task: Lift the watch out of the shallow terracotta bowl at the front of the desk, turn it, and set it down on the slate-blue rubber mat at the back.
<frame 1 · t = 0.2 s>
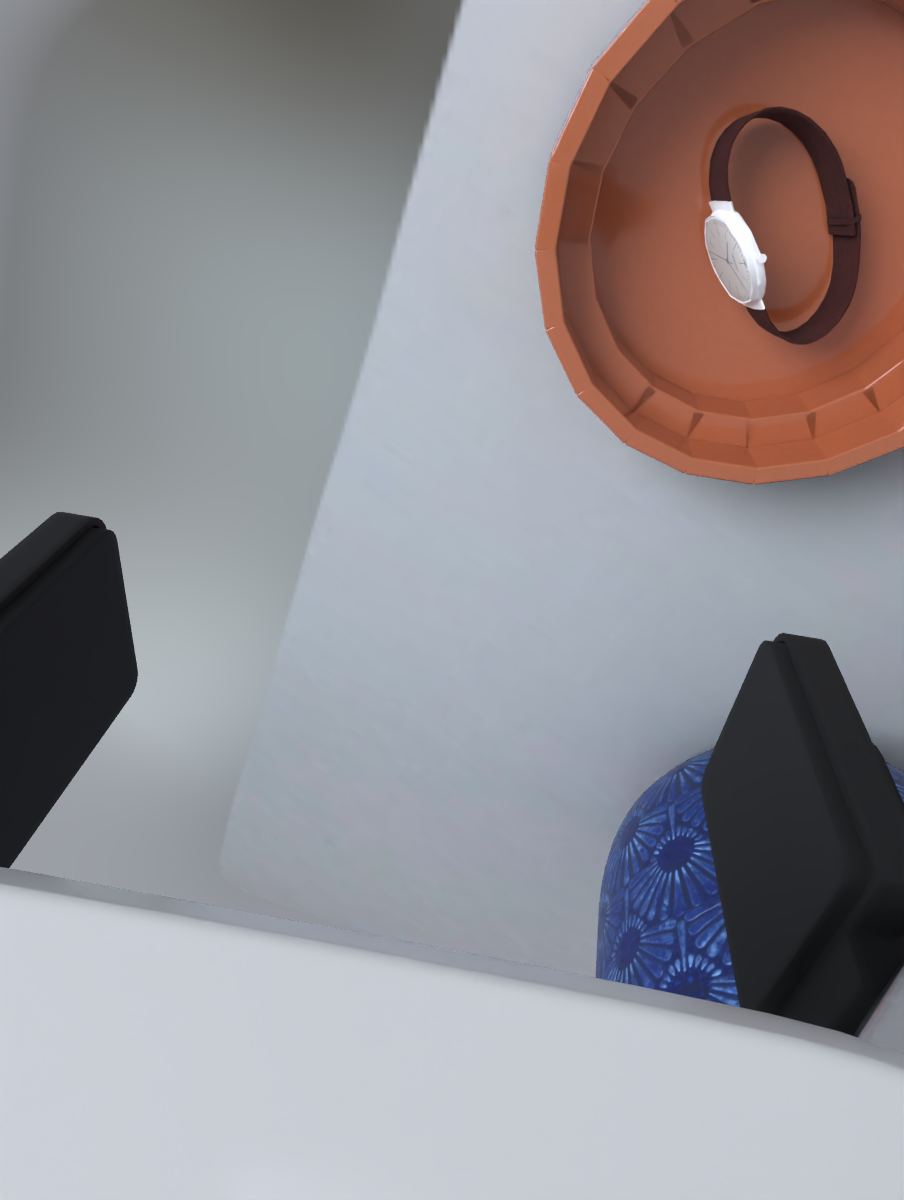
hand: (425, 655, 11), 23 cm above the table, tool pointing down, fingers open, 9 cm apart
planter: (761, 810, 45), on the table
watch: (772, 223, 27), resting on bowl
bowl: (770, 221, 28), on the table
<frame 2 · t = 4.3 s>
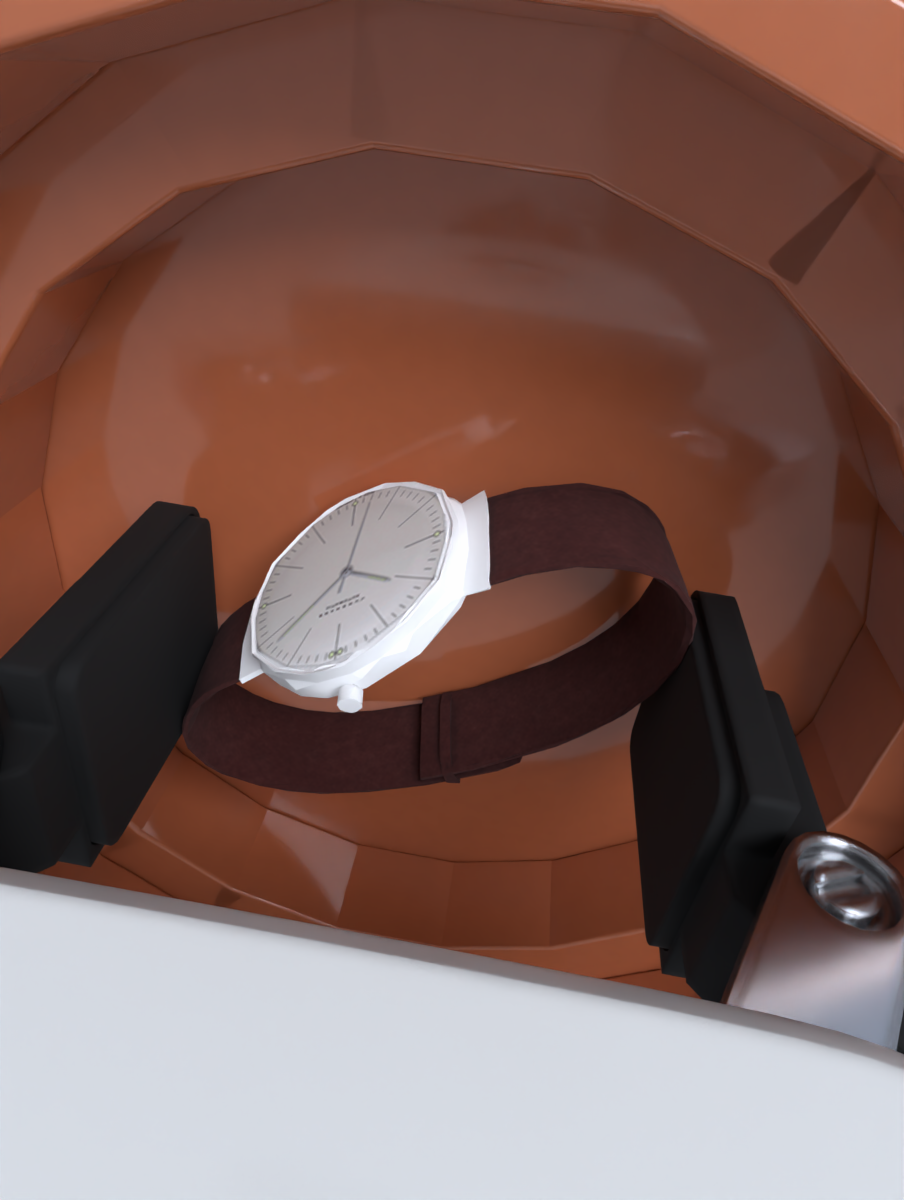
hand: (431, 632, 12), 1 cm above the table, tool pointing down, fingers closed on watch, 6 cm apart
watch: (439, 597, 13), resting on bowl, touching gripper
bowl: (443, 584, 13), on the table
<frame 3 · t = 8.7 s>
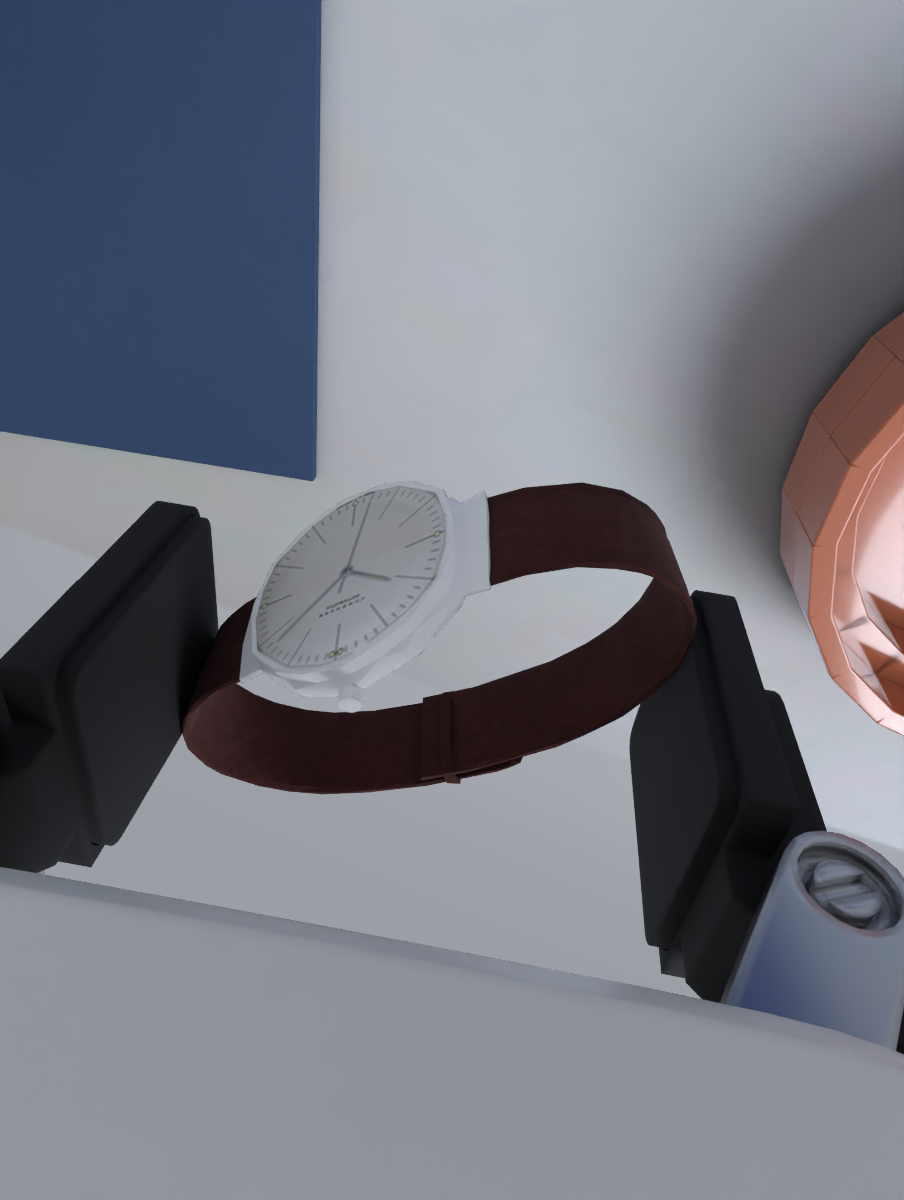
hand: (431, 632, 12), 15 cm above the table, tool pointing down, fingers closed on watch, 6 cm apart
watch: (440, 597, 13), point 15 cm above the table, touching gripper
mat: (90, 169, 23), on the table
when the fingers open (1 cm above the table, at t = 13.4 s): watch stays where it is, resting on mat.
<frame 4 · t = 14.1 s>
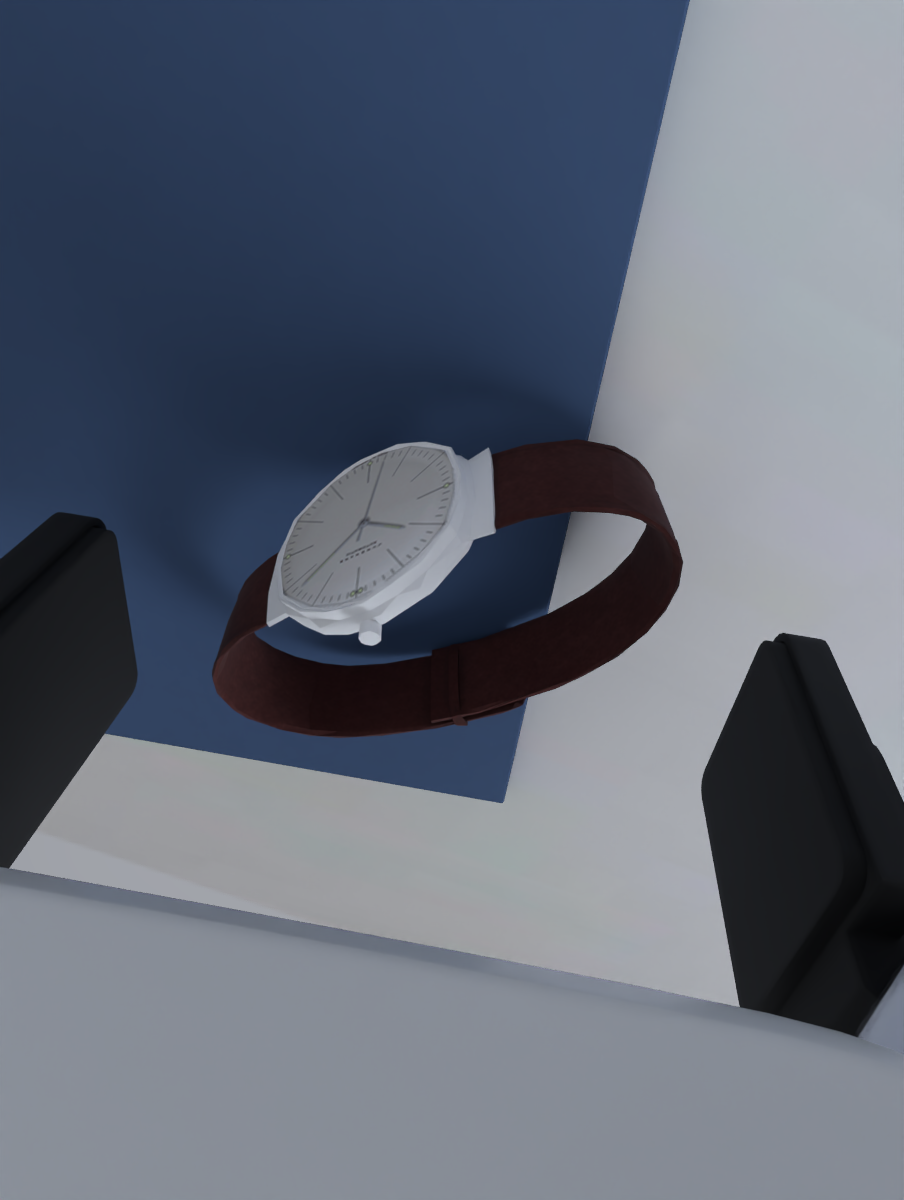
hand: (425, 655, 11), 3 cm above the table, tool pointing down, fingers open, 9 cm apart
watch: (447, 554, 13), resting on mat
mat: (151, 330, 12), on the table
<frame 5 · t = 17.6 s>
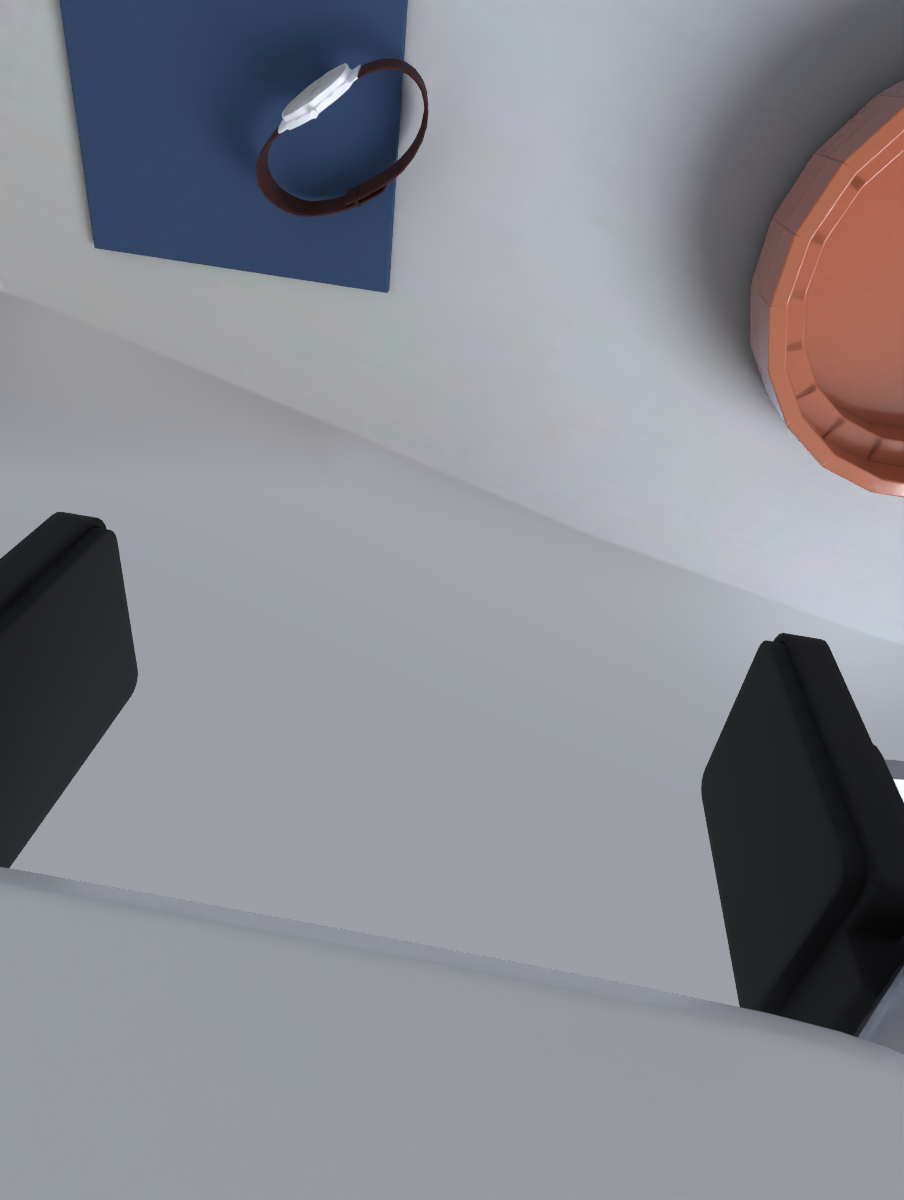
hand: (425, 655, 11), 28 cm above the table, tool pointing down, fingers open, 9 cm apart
watch: (352, 138, 32), resting on mat
mat: (233, 31, 31), on the table
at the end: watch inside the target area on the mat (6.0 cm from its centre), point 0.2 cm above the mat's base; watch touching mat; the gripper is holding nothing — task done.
